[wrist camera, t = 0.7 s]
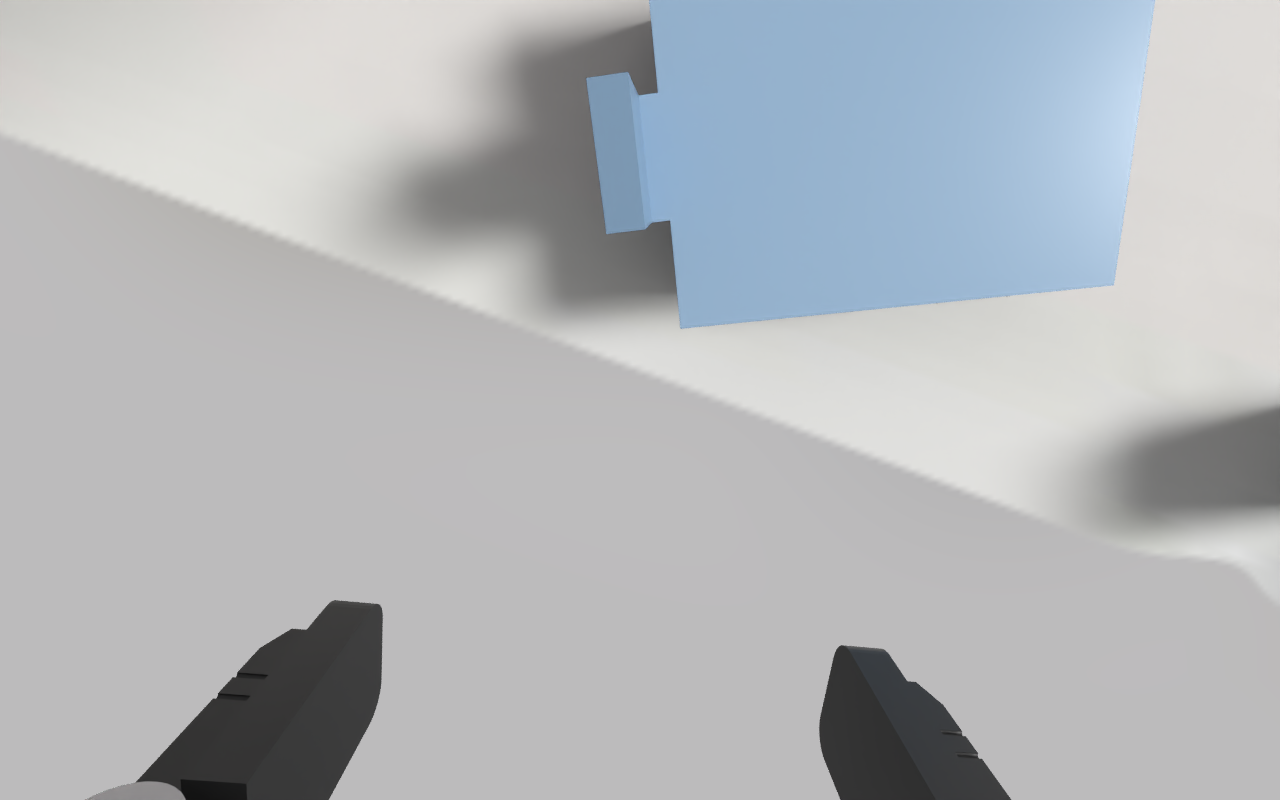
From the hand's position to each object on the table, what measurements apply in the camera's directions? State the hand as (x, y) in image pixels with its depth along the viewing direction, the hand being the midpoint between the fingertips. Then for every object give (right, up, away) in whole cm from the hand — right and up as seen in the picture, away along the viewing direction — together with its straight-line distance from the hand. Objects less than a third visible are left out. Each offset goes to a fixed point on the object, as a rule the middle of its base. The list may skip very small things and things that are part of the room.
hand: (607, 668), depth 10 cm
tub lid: (+10, +16, +15) cm, 24 cm away
